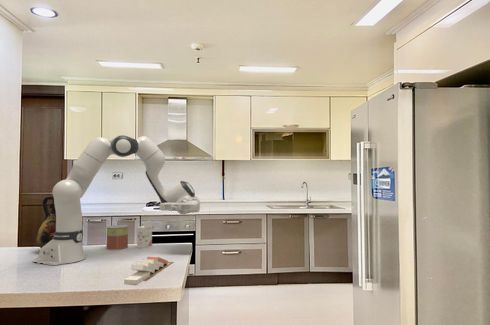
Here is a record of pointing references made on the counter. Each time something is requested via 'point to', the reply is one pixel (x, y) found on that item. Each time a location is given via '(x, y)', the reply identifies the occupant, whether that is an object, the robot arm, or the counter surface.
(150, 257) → the rust tile
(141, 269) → the ivory tile
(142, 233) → the ink cartridge box
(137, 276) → the ivory tile
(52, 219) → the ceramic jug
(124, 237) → the canned food
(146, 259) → the ivory tile
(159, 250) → the counter surface
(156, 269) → the ivory tile
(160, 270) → the walnut board
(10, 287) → the counter surface
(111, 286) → the counter surface
